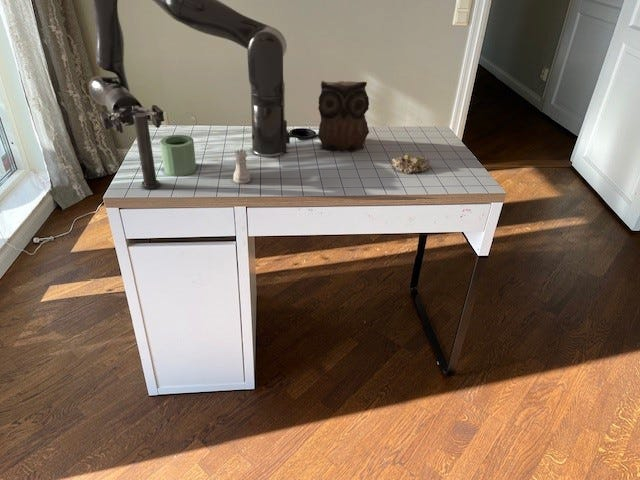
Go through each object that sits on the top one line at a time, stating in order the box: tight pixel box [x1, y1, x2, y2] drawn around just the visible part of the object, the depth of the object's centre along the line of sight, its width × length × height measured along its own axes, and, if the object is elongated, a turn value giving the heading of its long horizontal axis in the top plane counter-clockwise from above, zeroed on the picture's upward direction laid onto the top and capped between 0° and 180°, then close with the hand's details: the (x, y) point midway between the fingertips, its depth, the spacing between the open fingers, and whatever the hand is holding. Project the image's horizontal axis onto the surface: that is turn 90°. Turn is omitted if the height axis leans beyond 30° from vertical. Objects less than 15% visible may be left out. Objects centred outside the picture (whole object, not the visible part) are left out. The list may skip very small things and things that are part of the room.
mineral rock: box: [391, 153, 431, 174], centre depth 137 cm, size 11×4×8 cm
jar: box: [159, 134, 197, 177], centre depth 128 cm, size 8×8×8 cm
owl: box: [317, 80, 370, 153], centre depth 143 cm, size 13×13×20 cm
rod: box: [133, 113, 160, 191], centre depth 116 cm, size 4×4×18 cm
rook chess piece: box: [232, 149, 251, 185], centre depth 124 cm, size 4×4×8 cm
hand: (139, 126), depth 115 cm, fingers open, 8 cm apart
